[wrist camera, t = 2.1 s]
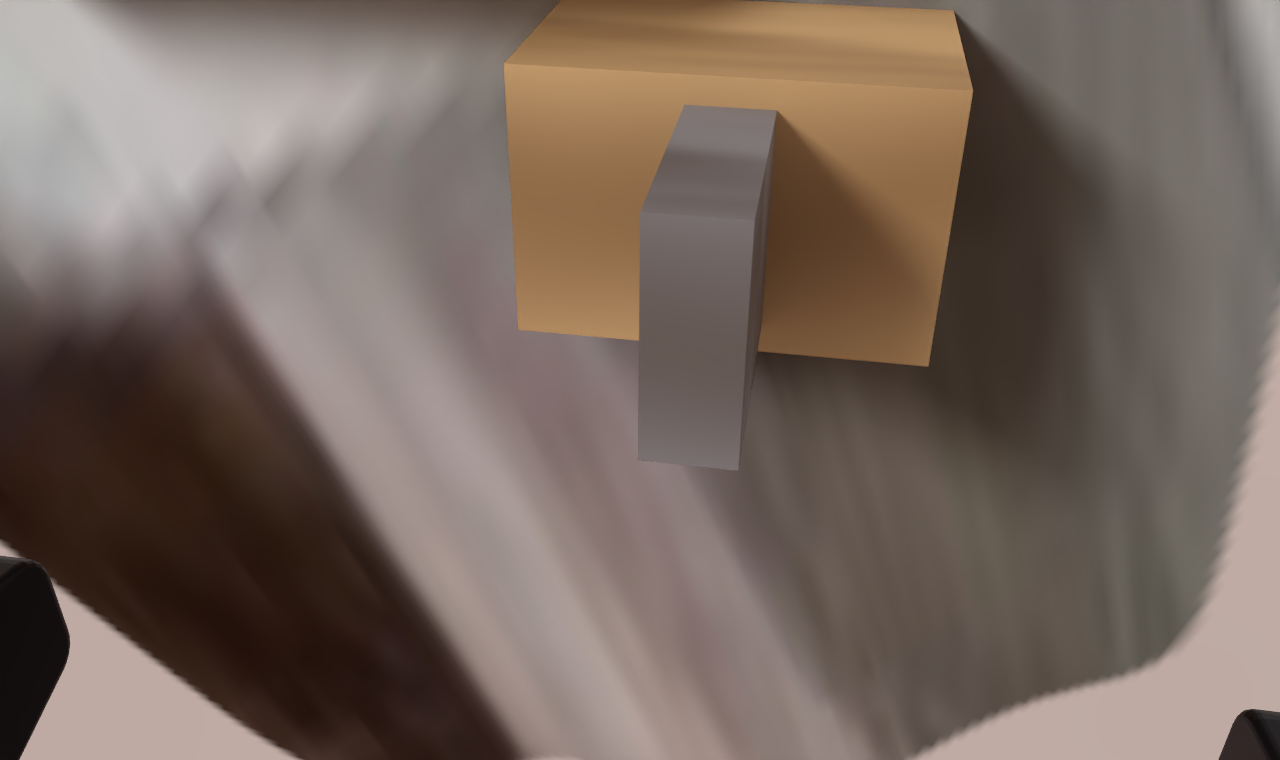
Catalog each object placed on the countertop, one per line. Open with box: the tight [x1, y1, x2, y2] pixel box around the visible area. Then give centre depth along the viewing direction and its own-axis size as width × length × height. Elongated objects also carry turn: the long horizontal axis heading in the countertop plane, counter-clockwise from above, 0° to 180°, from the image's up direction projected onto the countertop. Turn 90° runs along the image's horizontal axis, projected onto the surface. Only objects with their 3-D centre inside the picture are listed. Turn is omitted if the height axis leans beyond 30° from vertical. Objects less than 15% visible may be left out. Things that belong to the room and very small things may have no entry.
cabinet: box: [504, 0, 973, 471], centre depth 16 cm, size 4×6×8 cm
